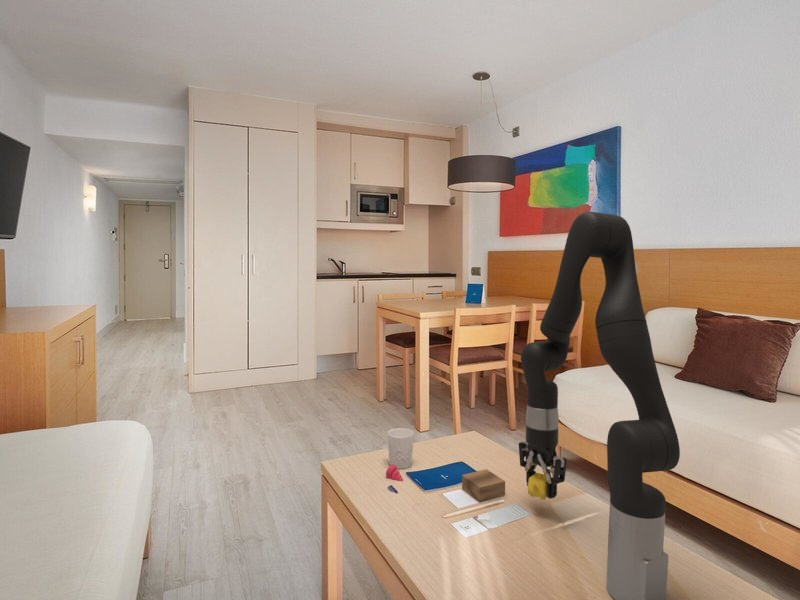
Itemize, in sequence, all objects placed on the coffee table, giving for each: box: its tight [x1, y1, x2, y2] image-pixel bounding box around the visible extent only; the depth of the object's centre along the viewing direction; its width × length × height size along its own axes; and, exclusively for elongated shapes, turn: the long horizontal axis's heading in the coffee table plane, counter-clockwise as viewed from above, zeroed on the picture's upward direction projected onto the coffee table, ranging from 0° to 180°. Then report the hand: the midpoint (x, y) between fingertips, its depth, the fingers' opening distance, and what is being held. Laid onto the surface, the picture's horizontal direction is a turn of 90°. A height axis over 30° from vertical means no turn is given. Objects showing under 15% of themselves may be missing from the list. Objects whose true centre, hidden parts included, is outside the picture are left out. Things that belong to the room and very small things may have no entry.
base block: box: [461, 469, 506, 504], centre depth 128 cm, size 8×8×4 cm
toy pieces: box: [385, 464, 404, 494], centre depth 134 cm, size 12×11×4 cm
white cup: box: [387, 427, 415, 470], centre depth 147 cm, size 8×8×10 cm
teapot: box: [527, 472, 548, 500], centre depth 117 cm, size 8×6×5 cm
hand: (540, 491), depth 117 cm, fingers closed on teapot, 6 cm apart
